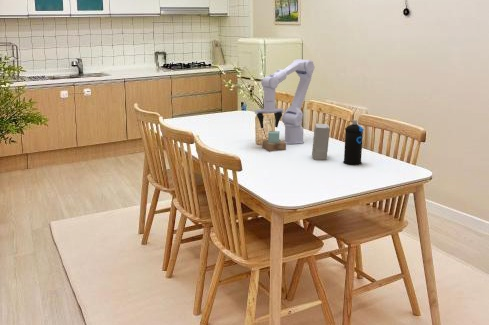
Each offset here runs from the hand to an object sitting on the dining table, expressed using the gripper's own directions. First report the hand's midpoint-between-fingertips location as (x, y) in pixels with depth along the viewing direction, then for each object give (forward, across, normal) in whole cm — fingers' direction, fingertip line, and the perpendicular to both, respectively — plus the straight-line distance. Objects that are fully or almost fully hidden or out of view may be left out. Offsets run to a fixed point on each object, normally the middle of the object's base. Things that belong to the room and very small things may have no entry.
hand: (269, 127), depth 266 cm
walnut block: (+11, -2, +3) cm, 11 cm away
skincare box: (+11, -17, +26) cm, 33 cm away
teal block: (+7, -2, +4) cm, 8 cm away
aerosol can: (+11, -28, +38) cm, 48 cm away
